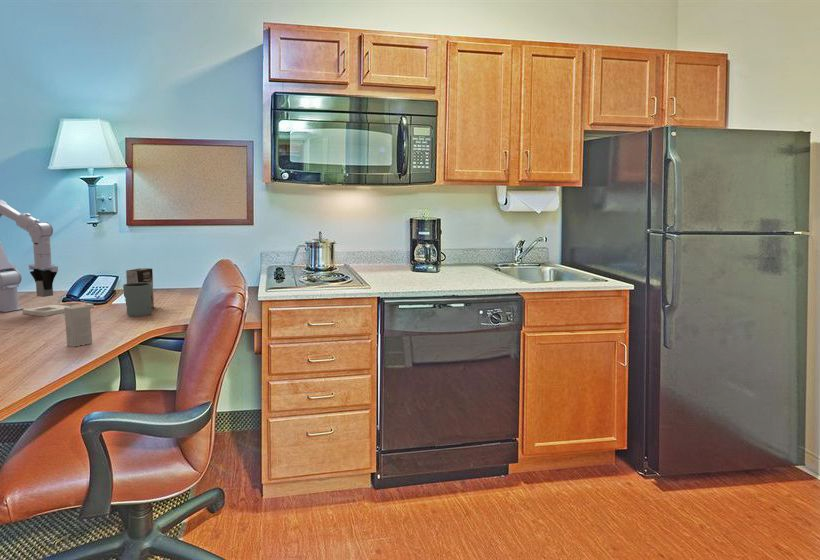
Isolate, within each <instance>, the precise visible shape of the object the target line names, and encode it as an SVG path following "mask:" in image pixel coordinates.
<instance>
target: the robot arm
mask: <svg viewBox="0 0 820 560" xmlns="http://www.w3.org/2000/svg"><path fill="white" fill-rule="evenodd" d="M3 216H4V217H6V218H8V219H10V220H13V221H14V222H15V225H16V226H17V227H19V228H21V230H24V231H26V232H27V233H28V235H29V236H30V238H31V242H32V245H33V259H34V260H33V263H34V264H33V263H32V264H28V270H32V271H29V274H30V275H31V277H32V278H33V279H34V281H35V283H36V281H38V280H44V286H45V290H50V289H52V284H53V283H54V281H55V277H56V276H57V274H58V272H59V267H58V266H56V265H55V264H52V253H51V252H52V251H51V237H52V236H53V234H54V228H53V226H52V225H51V224H50V223H49V222H48V221H46V222H45V221H44V222H42V221H41V220H40V219H38V218H35V217H33V216H32V214H31V213H25V212H23V213H21V212H20V211H18V210H16V209H15V208H13V207H12V206H11V205H8V203H7V201H4V200H3V199H0V219H1V218H2V217H3ZM22 277H23V276H22V274H21V272H20V271H18V269H17V267H16V265H14V264H13V263H11V262H10V261H9V259H8V257H7V254H6V252H5V249H4V246H3V243H2V241H1V240H0V312H3V313H7V312H13V311H20V310H24V309H25V308H24V307H20V306H19V292H18V287H19V285H20V284H21V282H22V279H23V278H22Z"/></svg>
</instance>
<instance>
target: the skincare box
mask: <svg viewBox="0 0 820 560" xmlns="http://www.w3.org/2000/svg"><path fill="white" fill-rule="evenodd" d="M64 310H65V313H64V320H65V332H66V333H65V336H66V345H67V346H68V345H70V346H69V347H71V346H74V347H73V348H76V347H75V346H77V347H81V346H80V345H82V346H86V345H85V344H87V345H91V344H90V343H92V344H93V335H92V321H91V320H92V319H91V308H90V306H85V305H79V306H72V307H66V308H64Z"/></svg>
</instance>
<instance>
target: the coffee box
mask: <svg viewBox="0 0 820 560" xmlns="http://www.w3.org/2000/svg"><path fill="white" fill-rule="evenodd" d="M125 274H126V276H125V278H126V284H128V283H137V282H147V283H151V284H152V289H151V309H152V308H154V307H155V305H154V302H155V300H154V281H153V280H154V278H153V277H154V276H153V268H143V267H142V268H140V267H139V268H133V269H128V270H126V273H125Z"/></svg>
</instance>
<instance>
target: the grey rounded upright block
mask: <svg viewBox="0 0 820 560" xmlns="http://www.w3.org/2000/svg"><path fill="white" fill-rule="evenodd" d="M122 287H123V288H122V289H123V293H124V297H125V298H124V301H125V306H126V315H127V316H128V317H133V318H135V317H139V318H140V317H147V316H150V315H152V308H151V289H152V284H151V283H147V282H137V283H128V284H127V283H125V284H123V285H122Z"/></svg>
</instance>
